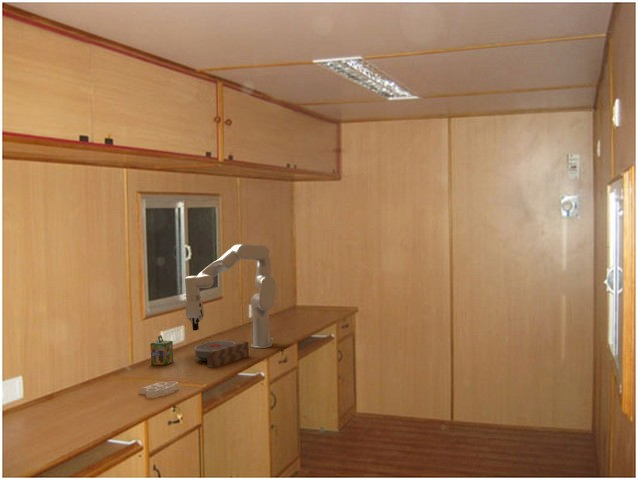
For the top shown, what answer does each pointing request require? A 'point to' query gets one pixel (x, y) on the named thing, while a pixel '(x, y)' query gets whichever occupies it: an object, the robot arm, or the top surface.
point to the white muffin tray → (159, 389)
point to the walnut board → (227, 354)
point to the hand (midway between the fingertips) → (195, 330)
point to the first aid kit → (210, 348)
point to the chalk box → (161, 352)
